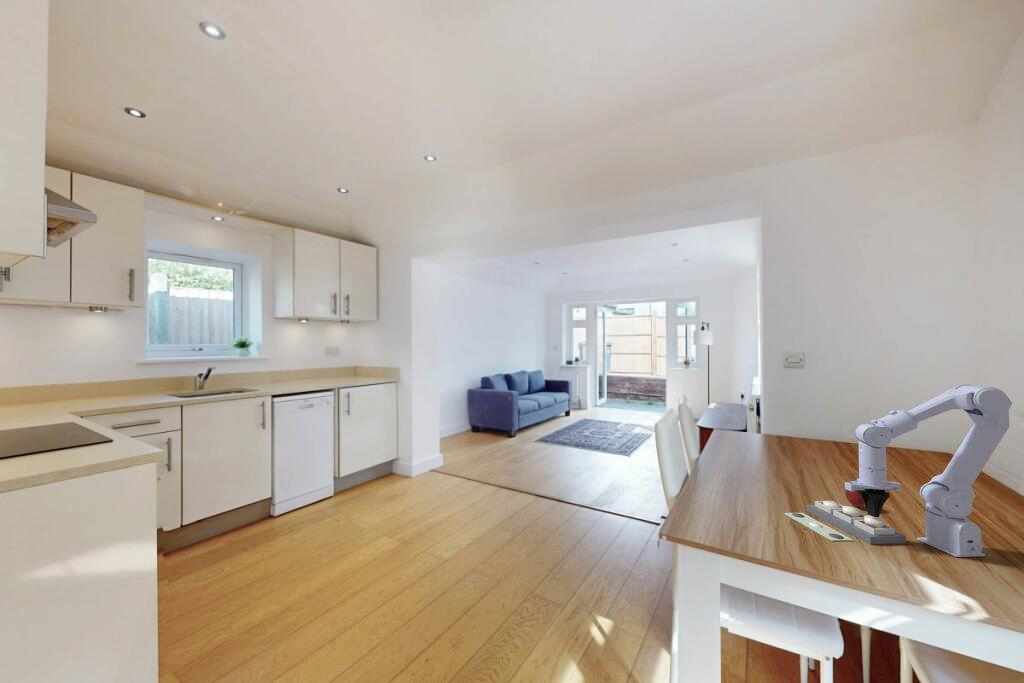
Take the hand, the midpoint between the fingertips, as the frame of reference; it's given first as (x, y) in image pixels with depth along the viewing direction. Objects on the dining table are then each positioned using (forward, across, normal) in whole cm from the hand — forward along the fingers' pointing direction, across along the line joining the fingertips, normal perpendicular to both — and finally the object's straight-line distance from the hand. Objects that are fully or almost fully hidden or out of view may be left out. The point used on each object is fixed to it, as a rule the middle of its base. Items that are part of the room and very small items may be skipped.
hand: (873, 515), depth 110 cm
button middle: (+3, 0, -7) cm, 7 cm away
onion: (+6, -14, -20) cm, 25 cm away
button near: (+3, 0, 0) cm, 3 cm away
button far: (+4, 0, -14) cm, 14 cm away
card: (+6, +11, -7) cm, 14 cm away
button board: (+6, 0, -7) cm, 9 cm away
